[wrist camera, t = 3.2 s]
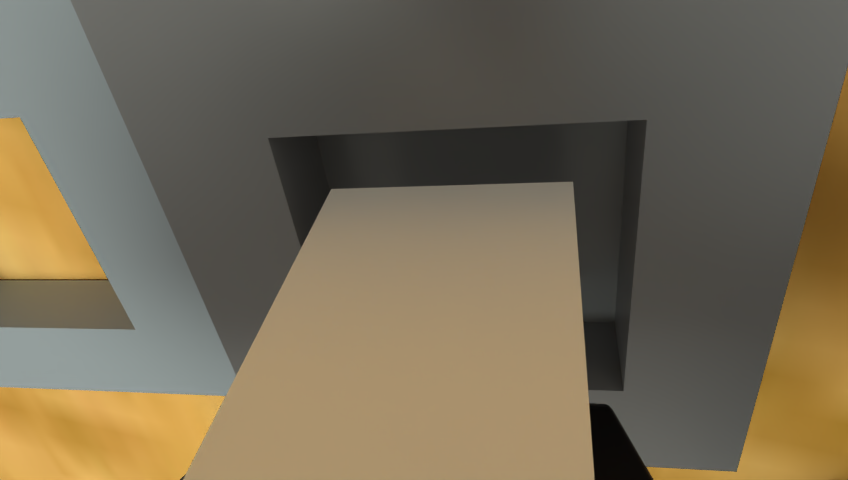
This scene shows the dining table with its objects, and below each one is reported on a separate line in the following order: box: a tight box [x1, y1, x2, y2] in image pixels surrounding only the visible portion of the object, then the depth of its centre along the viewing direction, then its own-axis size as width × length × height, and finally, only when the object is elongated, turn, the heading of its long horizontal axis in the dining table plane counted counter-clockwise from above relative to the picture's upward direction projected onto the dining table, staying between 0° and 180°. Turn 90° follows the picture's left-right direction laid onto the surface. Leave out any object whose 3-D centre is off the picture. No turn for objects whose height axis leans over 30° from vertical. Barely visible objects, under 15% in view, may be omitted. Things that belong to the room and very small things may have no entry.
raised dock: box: [71, 0, 848, 472], centre depth 13 cm, size 11×11×4 cm
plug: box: [183, 182, 595, 480], centre depth 8 cm, size 4×4×8 cm
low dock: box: [0, 0, 236, 396], centre depth 16 cm, size 11×11×2 cm
